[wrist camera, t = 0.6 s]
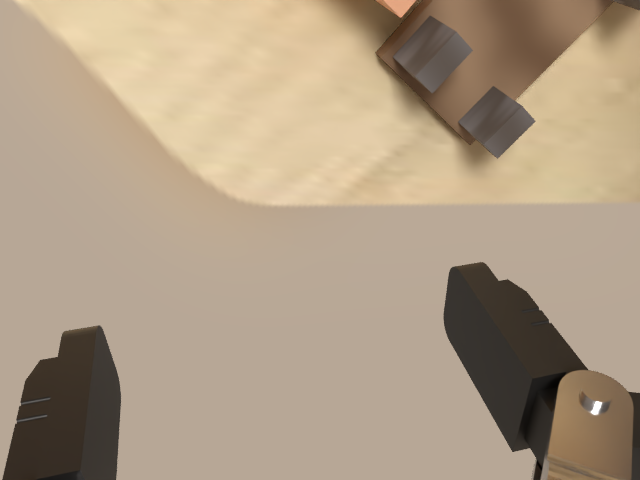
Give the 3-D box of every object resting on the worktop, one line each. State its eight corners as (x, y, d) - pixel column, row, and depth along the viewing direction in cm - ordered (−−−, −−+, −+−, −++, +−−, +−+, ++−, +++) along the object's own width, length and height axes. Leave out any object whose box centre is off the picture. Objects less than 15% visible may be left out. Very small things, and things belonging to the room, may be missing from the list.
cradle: (575, -172, 31) (633, -174, 27) (646, -46, 35) (703, -33, 32) (375, 52, 35) (402, 77, 31) (463, 138, 40) (495, 169, 36)
